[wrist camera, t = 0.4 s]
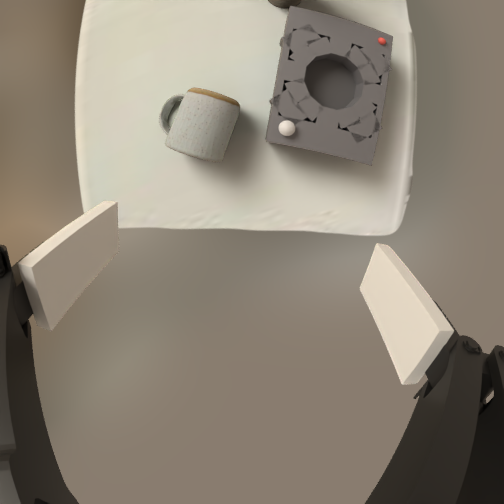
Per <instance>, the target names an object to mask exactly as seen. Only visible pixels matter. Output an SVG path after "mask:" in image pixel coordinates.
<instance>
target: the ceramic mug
mask: <svg viewBox="0 0 504 504" xmlns="http://www.w3.org/2000/svg"><path fill="white" fill-rule="evenodd" d="M181 99H182V102H181V104H180V106H179V109H178V112H177V114H176V117H175V119H174V121H173V124H172V126H171V129H169V127H168V123H167V121H168V116H169V114H170V112H171V109H172V107H173V106H174V104H175V103H176V102H177V101H179V100H181ZM239 111H240V105H239V103H238V102H237V101H236V100H234V99H232V98H229V97H227V96H224V95H222V94H219V93H216V92H213V91H209V90H205V89H201V88H191V89H190V90H188V92H187V93H186V94H185V95H184V94H178V95H174V96H172V97H171V98H169V99H168V100H167V101H166V103H165V104H164V105H163V107H162V110H161V112H160V116H159V123H160V126H161V128H162V130H163V131H164V132H165V133H166V134H167V135H168V136H167V139H166V142H165V145H166V146H167V147H169V148H171V149H173V150H175V151H178V152H180V153H183V154H186V155H189V156H193V157H196V158H199V159H202V160H207V161H212V162H221V161H222V160H223V157H224V154H225V151H226V149H227V146H228V143H229V140H230V138H231V135H232V132H233V129H234V126H235V124H236V121H237V119H238V115H239Z"/></svg>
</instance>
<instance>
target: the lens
mask: <svg viewBox="0 0 504 504" xmlns="http://www.w3.org/2000/svg"><path fill="white" fill-rule="evenodd" d="M268 1H269V2H270V3H271V4H272V5H274V6H277V7H281V8H290V6H296V5H298V4H299V3H300V2H301V0H268Z"/></svg>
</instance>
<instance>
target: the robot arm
mask: <svg viewBox="0 0 504 504" xmlns="http://www.w3.org/2000/svg"><path fill="white" fill-rule="evenodd" d="M118 252H119V237H118V206H117V202H113V201H104V202H102V203H100V204H99V205H97V206H96V207H94V208H93V209H91V210H89V211H88V212H86V213H85V214H83V215H82V216H80V217H79V218H77V219H76V220H74V221H73V222H71V223H70V224H69V225H67V226H66V227H64V228H63V229H61V230H60V231H59V232H57V233H56V234H55V235H53V236H52V237H50V238H49V239H48V240H46V241H44V242H42V243H41V244H40V245H38V246H37V247H36V248H35V249H33V250H32V251H31V252H30V253H29V254H27V255H26V256H25V257H23V258H22V259H21V260H19V261H18V262H17V263H16V264H15V265H14V266H13V267H11V264H10V260H9V256H8V252H7V248H6V247H5V246H4V245H0V504H79V503H78V502H77V500H76V499H75V497H74V496H73V495H72V493H71V492H70V491H69V490H68V488H67V487H66V484H65V482H64V480H63V478H62V475H61V472H60V469H59V467H58V464H57V461H56V459H55V455H54V452H53V449H52V446H51V443H50V439H49V436H48V432H47V428H46V425H45V421H44V417H43V412H42V408H41V403H40V398H39V393H38V387H37V381H36V374H35V367H34V359H33V349H32V337H31V326H30V322H29V320H28V319H29V318H30V316H31V315H32V314H34V317H35V320H36V323H37V325H38V326H39V327H42V328H44V329H47V330H49V331H52V330H53V328H54V327H55V326H56V325H57V323H58V322H59V321H60V319H61V318H62V317H63V316H64V314H65V313H66V312H67V311H68V309H69V308H70V307H71V305H72V304H73V303H74V302H75V301H76V299H77V298H78V297H79V296H80V295H81V294H82V292H83V291H84V290H85V289H86V288H87V286H88V285H89V284H90V283H91V282H92V281H93V280H94V278H95V277H96V276H97V275H98V274H99V273H100V272H101V270H102V269H103V268H104V267H105V266H106V265H107V264H108V263H109V262H110V261H111V259H112V258H113V257H114V256H115V255H116V254H117V253H118ZM360 290H361V293H362V294H363V297H364V299H365V301H366V303H367V305H368V307H369V309H370V311H371V313H372V316H373V318H374V320H375V322H376V324H377V326H378V329H379V331H380V333H381V335H382V338H383V340H384V342H385V344H386V347H387V349H388V351H389V354H390V355H391V359H392V361H393V363H394V366H395V368H396V371H397V373H398V376H399V378H400V381H401V383H402V385H405V384H417V382H418V381H419V380H420V379H421V378H422V376H423V375H424V374H425V373H426V375H427V378H428V380H427V382H426V383H425V384H424V385H423V387H422V388H421V389H420V390H419V391H418V393H417V394H416V395H415V396H414V399H416V398H417V397H418V396H419V399H418V402H417V404H416V407H415V409H414V412H413V414H412V417H411V419H410V421H409V424H408V426H407V428H406V430H405V433H404V435H403V437H402V439H401V441H400V443H399V445H398V447H397V449H396V451H395V453H394V455H393V457H392V459H391V461H390V463H389V465H388V466H387V468H386V470H385V472H384V473H383V475H382V477H381V479H380V481H379V482H378V484H377V485H376V487H375V489H374V490H373V492H372V493H371V495H370V496H369V498H368V500H367V501H366V503H365V504H504V347H502V346H499V345H497V346H495V347H494V349H493V350H492V352H491V353H490V354H486V353H483V352H482V349H481V347H480V346H479V344H478V343H477V342H476V341H475V340H473V339H472V338H470V337H468V336H459V334H458V333H457V331H456V330H455V328H454V327H453V325H452V324H451V322H450V321H449V320H448V318H446V315H445V314H444V313H443V312H442V310H441V309H440V307H439V306H438V304H437V303H436V302H435V301H434V300H433V299H431V297H430V296H429V295H428V293H427V292H426V291H425V289H424V288H423V287H422V285H421V284H420V283H419V282H418V280H417V279H416V278H415V276H414V275H413V274H412V273H411V272H410V270H409V269H408V268H407V267H406V265H405V264H404V263H403V262H402V260H401V259H400V258H399V257H398V256H397V255H396V253H395V252H394V251H393V250H392V249H391V248H390V246H388V245H383V244H378V243H376V246H375V249H374V252H373V255H372V258H371V260H370V263H369V266H368V268H367V271H366V274H365V276H364V279H363V281H362V284H361V286H360ZM493 390H494V397H493V398H492V399H491V400H490V401H489V402H488V403H487V404H486V398H487V397H488V396H489V395H490V394H491V392H492V391H493Z"/></svg>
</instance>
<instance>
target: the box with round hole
mask: <svg viewBox="0 0 504 504" xmlns="http://www.w3.org/2000/svg"><path fill="white" fill-rule="evenodd" d="M392 41H393V36H391V35H388V34H386V33H383V32H381V31H378V30H376V29H373V28H370V27H368V26H365V25H362V24H359V23H356V22H353V21H350V20H347V19H343V18H340V17H336V16H333V15H329V14H325V13H321V12H317V11H313V10H309V9H304V8H299V7H294V6H290V8H289V12H288V16H287V20H286V26H285V31H284V37H282V38H281V40H280V46H281V47H282V48H281V53H280V59H279V65H278V70H277V76H276V82H275V87H274V93H273V98H272V99H271V100H270V104H271V110H270V116H269V122H268V127H267V133H266V142H271V143H276V144H282V145H287V146H292V147H297V148H302V149H307V150H312V151H316V152H321V153H325V154H329V155H333V156H337V157H341V158H345V159H349V160H353V161H357V162H360V163H364V164H368V165H371V166H372V161H373V157H374V153H375V148H376V143H377V139H378V134H379V130H380V129H382V127H381V125H380V124H381V118H382V113H383V107H384V101H385V95H386V89H387V82H388V75H389V71H390V70H392V69H391V67H390V60H391V51H392Z"/></svg>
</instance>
